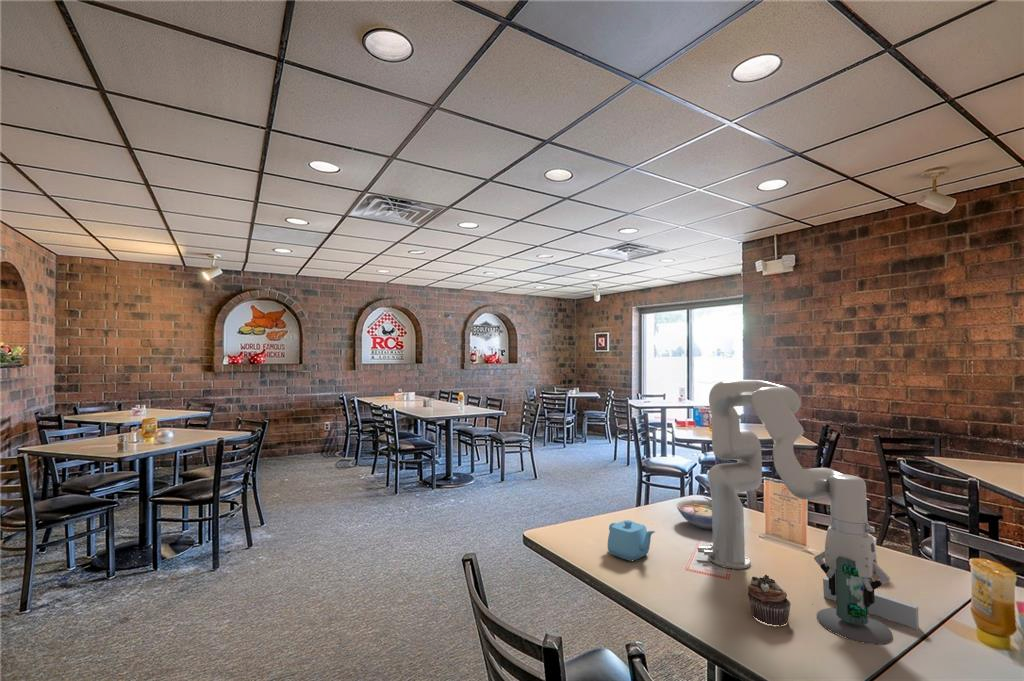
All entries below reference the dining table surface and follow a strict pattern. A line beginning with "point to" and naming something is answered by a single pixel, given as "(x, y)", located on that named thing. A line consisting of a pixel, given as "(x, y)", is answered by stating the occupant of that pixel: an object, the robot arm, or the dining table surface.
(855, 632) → the mat
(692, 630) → the dining table surface
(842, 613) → the can
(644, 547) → the teapot
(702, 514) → the ramen bowl
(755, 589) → the cupcake
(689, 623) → the dining table surface
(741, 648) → the dining table surface
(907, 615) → the panel
